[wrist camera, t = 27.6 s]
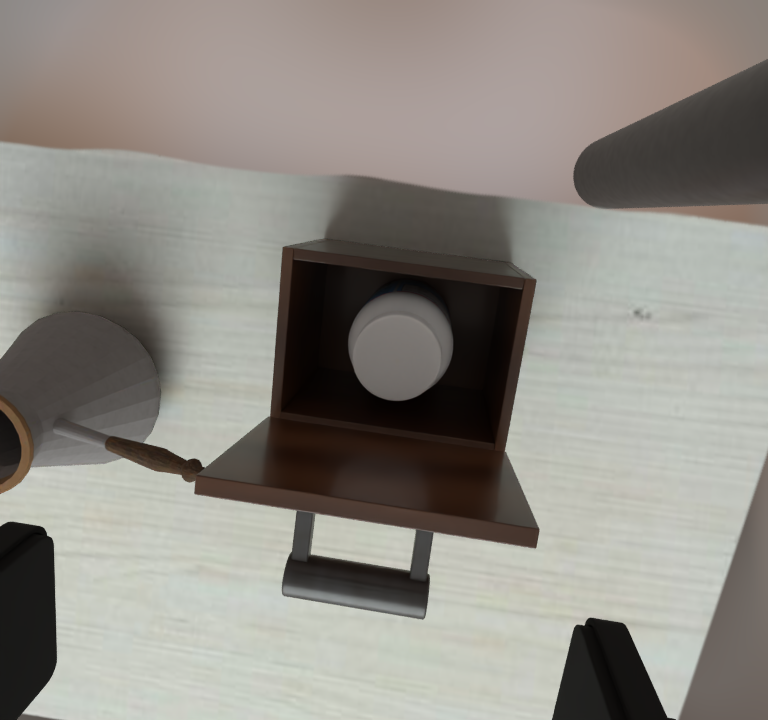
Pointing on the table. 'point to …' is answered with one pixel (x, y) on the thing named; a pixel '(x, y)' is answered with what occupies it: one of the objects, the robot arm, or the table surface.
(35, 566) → the robot arm
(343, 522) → the table surface
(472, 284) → the chest
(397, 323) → the pill bottle
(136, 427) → the coffee pot
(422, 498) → the lid
